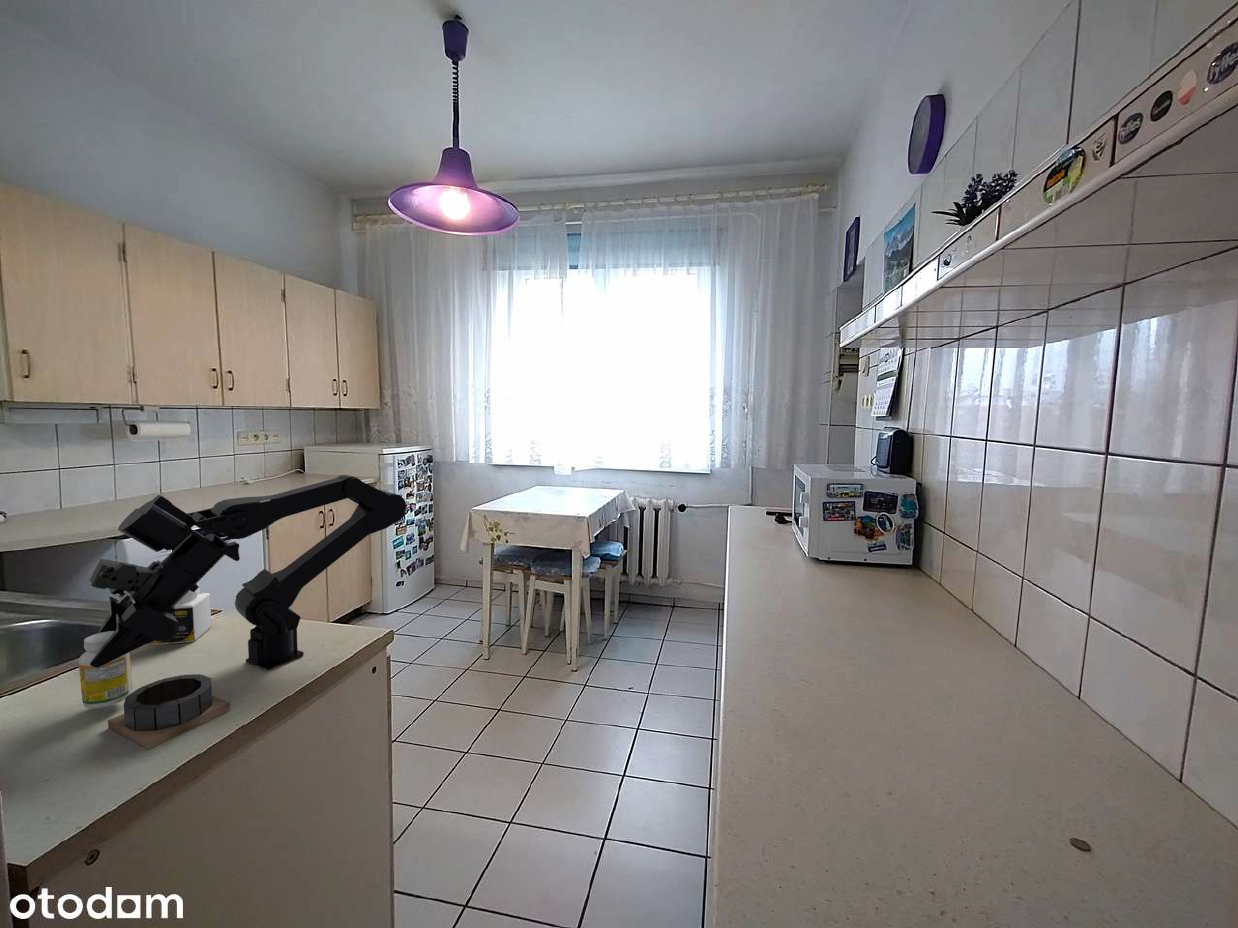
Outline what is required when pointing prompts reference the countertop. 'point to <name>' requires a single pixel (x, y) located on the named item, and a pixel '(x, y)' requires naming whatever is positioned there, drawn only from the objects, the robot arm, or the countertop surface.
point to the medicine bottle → (191, 618)
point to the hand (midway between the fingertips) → (91, 659)
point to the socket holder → (167, 709)
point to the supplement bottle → (103, 675)
